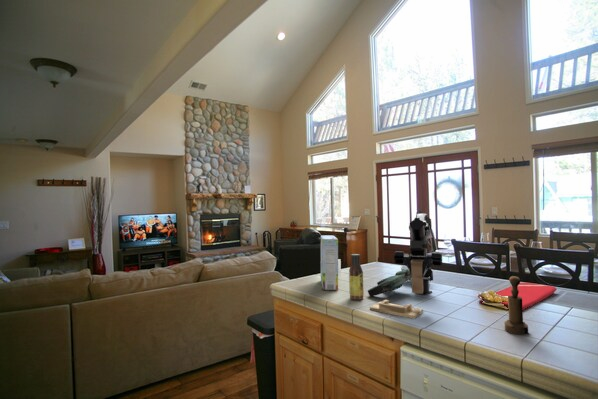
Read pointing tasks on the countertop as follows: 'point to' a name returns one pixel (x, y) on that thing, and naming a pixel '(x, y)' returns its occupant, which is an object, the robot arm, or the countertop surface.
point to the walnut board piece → (417, 276)
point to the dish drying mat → (528, 293)
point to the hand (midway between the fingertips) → (416, 276)
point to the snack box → (329, 262)
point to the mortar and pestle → (515, 310)
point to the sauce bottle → (356, 278)
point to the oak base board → (397, 309)
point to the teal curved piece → (390, 283)
